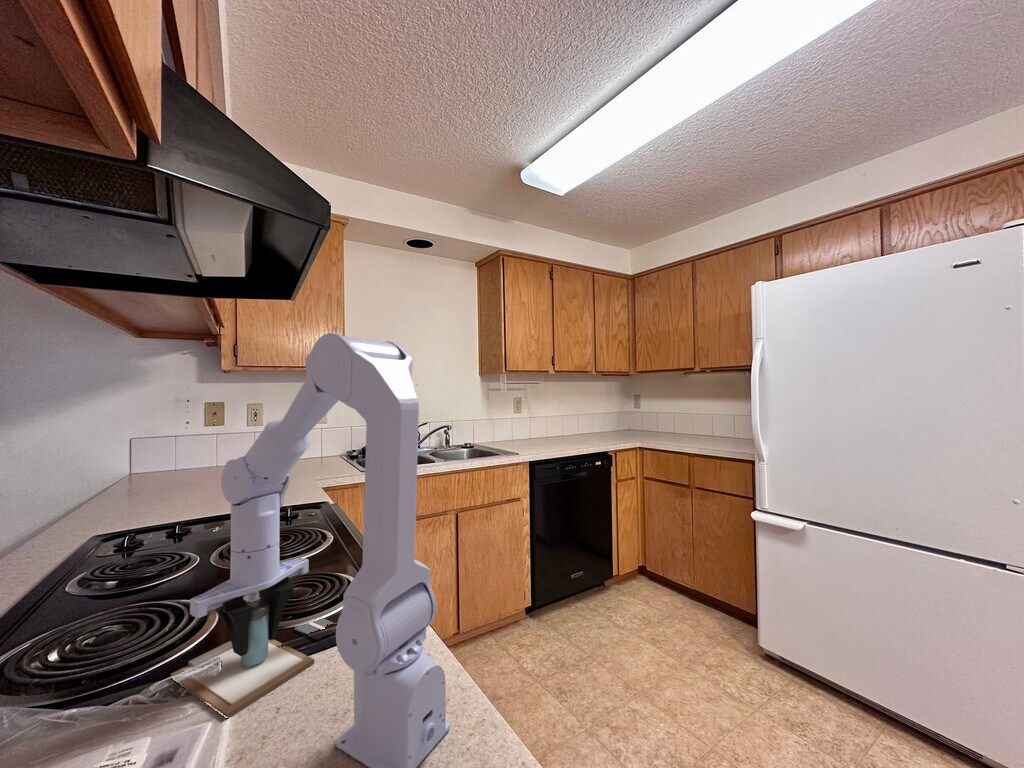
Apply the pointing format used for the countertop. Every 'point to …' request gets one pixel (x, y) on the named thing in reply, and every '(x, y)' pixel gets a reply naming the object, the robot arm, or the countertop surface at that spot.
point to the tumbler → (257, 633)
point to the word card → (313, 626)
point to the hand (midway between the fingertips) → (255, 644)
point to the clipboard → (243, 676)
